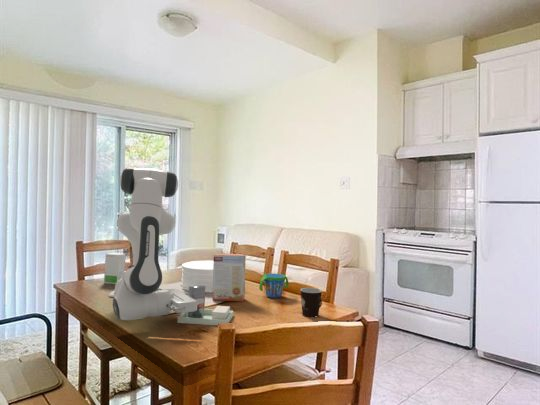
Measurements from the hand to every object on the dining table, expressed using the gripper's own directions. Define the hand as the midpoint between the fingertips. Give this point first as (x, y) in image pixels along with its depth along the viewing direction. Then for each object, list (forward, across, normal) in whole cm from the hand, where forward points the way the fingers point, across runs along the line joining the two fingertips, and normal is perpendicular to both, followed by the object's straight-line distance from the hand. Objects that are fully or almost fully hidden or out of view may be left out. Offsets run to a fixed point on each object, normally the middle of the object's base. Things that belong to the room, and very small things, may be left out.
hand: (198, 297), depth 137 cm
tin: (-1, 0, +7) cm, 7 cm away
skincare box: (-13, +78, +9) cm, 80 cm away
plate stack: (+27, +49, +8) cm, 57 cm away
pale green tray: (+2, -3, +8) cm, 9 cm away
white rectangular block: (+6, -6, +8) cm, 12 cm away
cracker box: (+24, +20, +8) cm, 32 cm away
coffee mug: (+40, -18, +8) cm, 45 cm away
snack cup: (+46, +15, +8) cm, 48 cm away
